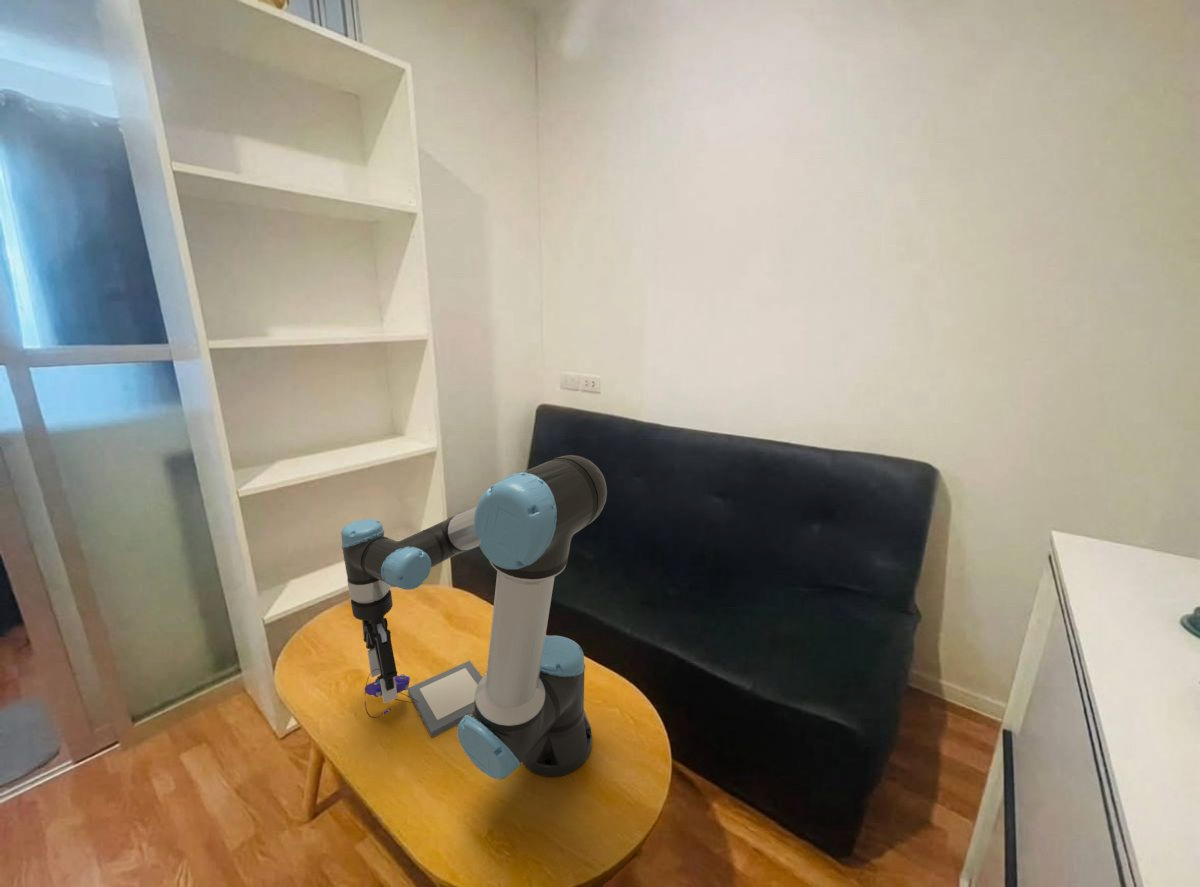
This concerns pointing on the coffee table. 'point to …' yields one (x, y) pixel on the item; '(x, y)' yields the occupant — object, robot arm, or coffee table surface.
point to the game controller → (375, 690)
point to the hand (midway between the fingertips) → (384, 686)
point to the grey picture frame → (446, 697)
